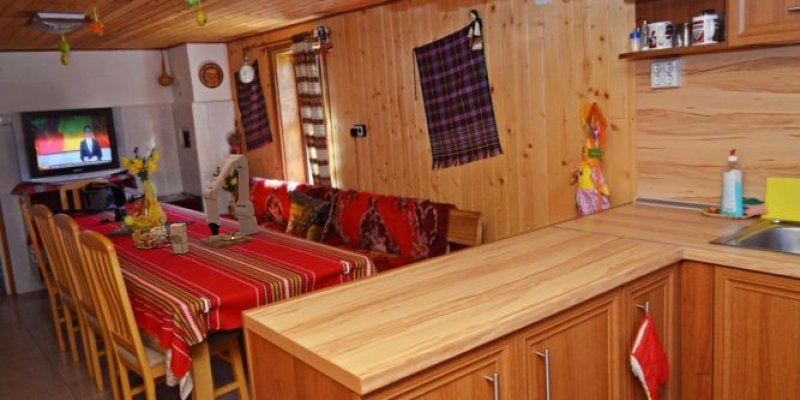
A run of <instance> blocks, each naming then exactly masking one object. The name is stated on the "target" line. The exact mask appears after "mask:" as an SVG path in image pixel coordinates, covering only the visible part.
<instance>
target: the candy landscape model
mask: <svg viewBox="0 0 800 400" xmlns="http://www.w3.org/2000/svg"><path fill="white" fill-rule="evenodd" d="M131 237H132V240H133V241H134V244H133V246H134V247H136V248H137V249H145V250H147V249H152V250H154V249H155V248H156V249H157V248H158V249H161V248H162V249H163V248H166V247H169V246H171V247H172V240H171V232H170V230H169V231H167V229H165V228H162V227H161V226H155V227H154V228H151V229H150V230H149V231H147V232H144V231H143V233H141V230H140V229H139V230H138V229H137V230H134V232H133V233H131Z"/></svg>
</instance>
